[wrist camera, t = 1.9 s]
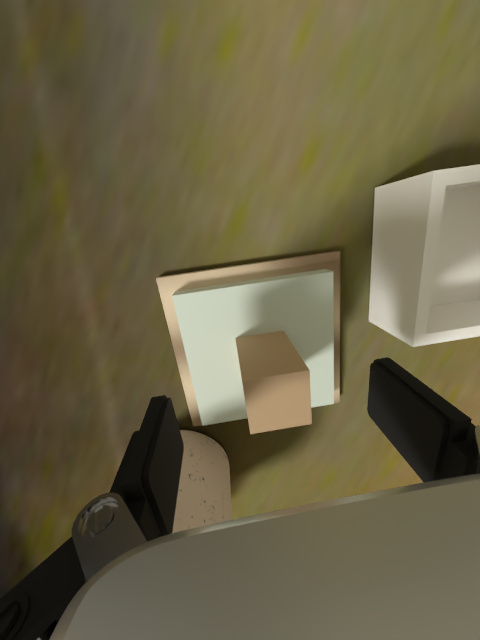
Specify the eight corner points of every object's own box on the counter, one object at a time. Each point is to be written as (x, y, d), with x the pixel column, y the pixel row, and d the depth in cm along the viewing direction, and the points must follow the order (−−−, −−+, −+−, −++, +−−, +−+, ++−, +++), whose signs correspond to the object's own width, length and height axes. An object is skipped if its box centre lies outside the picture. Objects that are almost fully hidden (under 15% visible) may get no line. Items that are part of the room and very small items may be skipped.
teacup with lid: (127, 421, 20) (14, 654, 9) (239, 428, 21) (261, 642, 10) (126, 522, 24) (46, 772, 13) (221, 523, 25) (223, 753, 14)
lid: (327, 394, 20) (372, 461, 14) (203, 414, 19) (196, 492, 14) (325, 269, 16) (384, 288, 11) (175, 291, 16) (150, 324, 10)
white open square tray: (483, 302, 19) (559, 323, 15) (368, 320, 19) (413, 346, 14) (511, 168, 16) (618, 145, 12) (374, 187, 16) (433, 170, 11)
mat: (336, 397, 21) (339, 402, 20) (193, 421, 20) (193, 426, 20) (336, 250, 17) (340, 251, 16) (158, 276, 16) (155, 278, 16)
